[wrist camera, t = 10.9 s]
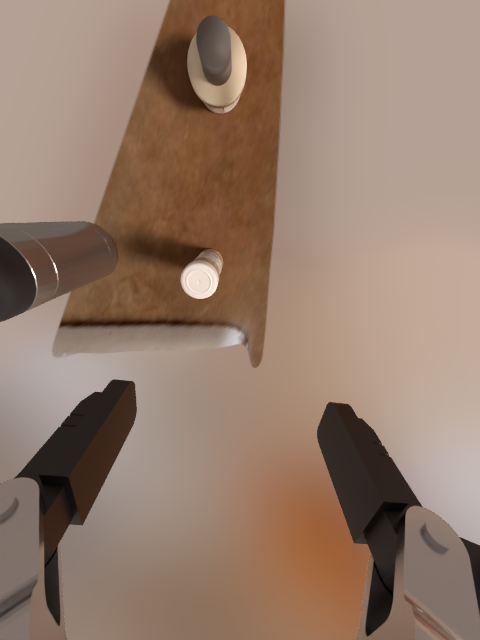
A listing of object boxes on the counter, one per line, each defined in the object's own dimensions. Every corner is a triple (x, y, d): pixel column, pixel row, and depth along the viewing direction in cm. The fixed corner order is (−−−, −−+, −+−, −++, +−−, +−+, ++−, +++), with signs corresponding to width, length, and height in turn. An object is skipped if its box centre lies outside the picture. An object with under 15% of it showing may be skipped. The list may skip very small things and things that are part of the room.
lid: (205, 119, 28) (199, 101, 24) (178, 50, 26) (165, 14, 21) (255, 91, 27) (258, 65, 23) (231, 15, 25) (230, -30, 20)
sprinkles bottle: (192, 264, 39) (172, 285, 27) (207, 242, 38) (193, 254, 26) (213, 279, 41) (203, 306, 28) (229, 259, 39) (224, 278, 27)
